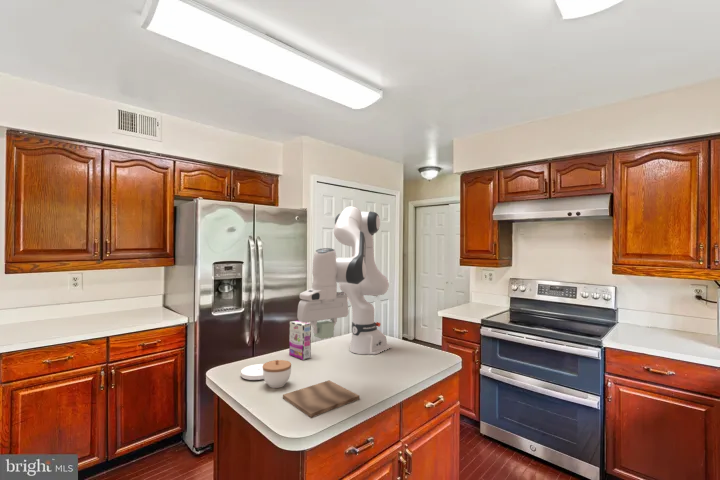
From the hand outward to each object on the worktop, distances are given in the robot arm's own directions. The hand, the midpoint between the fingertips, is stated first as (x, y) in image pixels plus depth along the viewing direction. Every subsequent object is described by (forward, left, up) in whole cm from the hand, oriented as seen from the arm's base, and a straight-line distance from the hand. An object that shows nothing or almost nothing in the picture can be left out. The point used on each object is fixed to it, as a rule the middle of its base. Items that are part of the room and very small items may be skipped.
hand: (323, 331), depth 125 cm
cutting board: (+2, +2, -23) cm, 23 cm away
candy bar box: (-16, -42, -23) cm, 50 cm away
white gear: (+9, -33, -23) cm, 41 cm away
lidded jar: (+8, -19, -23) cm, 31 cm away
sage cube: (0, 0, -2) cm, 2 cm away
